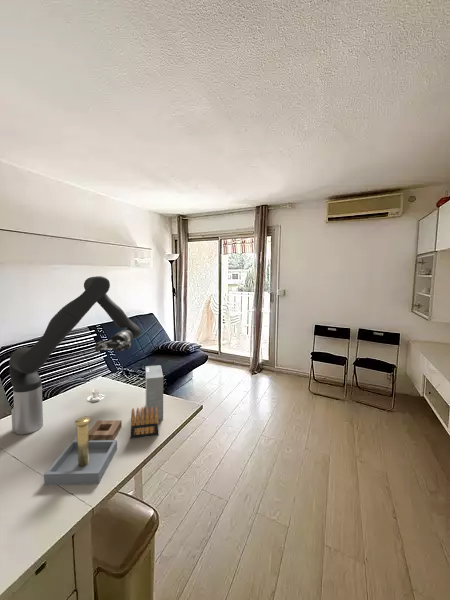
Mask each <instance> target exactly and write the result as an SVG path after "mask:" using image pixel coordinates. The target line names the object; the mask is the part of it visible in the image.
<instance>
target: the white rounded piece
mask: <svg viewBox="0 0 450 600" xmlns="http://www.w3.org/2000/svg"><path fill="white" fill-rule="evenodd" d="M101 395H102V396H105V395H104V394H100V390H99V389H93V390H92V395H90V396H88V397H87V401H88V402H98V401H99V402H100V401H101V400H103V399H104V398H105V397H102V396H101ZM99 396H101V398H100V397H99ZM91 398H92V399H91Z"/></svg>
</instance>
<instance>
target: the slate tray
mask: <svg viewBox="0 0 450 600" xmlns="http://www.w3.org/2000/svg"><path fill="white" fill-rule="evenodd" d="M117 450H118V440H117V439H114V440H89V463H88V465H86V466H84V467H79V466H78V440H71V441H70V442H69V444H68V445H67V446H66V447H65V448H64V450H63V451H62V452H61V453H60V454H59V455H58V457H56V459H55V460H54V462H53V463H52V464H51V465H50V466H49V467H48V469H47V470H46V471H45V472H44V473H43V485H44V486H66V485H69V486H70V485H99V484H100V483H101V480H102V479H103V477H104V475H105V473H106V471H107V469H108V467H109V466H110V463H111V462H112V460H113V458H114V456H115V454H116V452H117Z"/></svg>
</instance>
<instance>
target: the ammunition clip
mask: <svg viewBox="0 0 450 600" xmlns="http://www.w3.org/2000/svg"><path fill="white" fill-rule="evenodd" d="M140 409H141V410H140ZM140 409H139V407H137V408H136V412H135V409H134V407H132V408H131V413H130V414H131V415H130V416H131V417H130V437H129V438H130V439H138V438H147V437H156V436H159V420H158V409H157V406H156V407H155V414H154V415H153V407H152V406H151V409H150V420H149V410H148V407H146V406H145V409H144V407H143V406H141V408H140Z"/></svg>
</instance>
